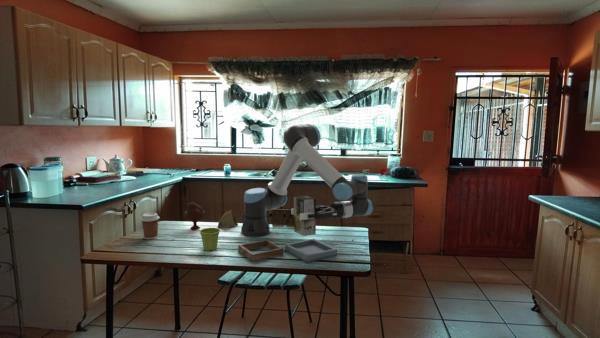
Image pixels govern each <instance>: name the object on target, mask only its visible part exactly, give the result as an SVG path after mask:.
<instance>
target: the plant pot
mask: <svg viewBox="0 0 600 338" xmlns="http://www.w3.org/2000/svg"><path fill="white" fill-rule="evenodd" d="M220 232H221V229H220V228H219V227H207V228H201V229H199V234H200V236H201V241H202V248H203V250H204V251H208V252H209V251H215V250H217V249H218V242H219V235H220Z"/></svg>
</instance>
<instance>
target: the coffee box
mask: <svg viewBox="0 0 600 338" xmlns="http://www.w3.org/2000/svg"><path fill="white" fill-rule="evenodd" d="M316 199H317V198H315V197H312V196H308V195H299V196H293V208H294V215H293V232H294V233H297V234H299V235H301V236H303V237H308V236H313V235H314V236H315V235H316V234H317V233H316V225H317V222H316V220H317V219H315V218H314V219H305V220H300V213H308V212H314V214H315V211H316V206H317V203H316V202H317V200H316Z"/></svg>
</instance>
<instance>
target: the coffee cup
mask: <svg viewBox="0 0 600 338" xmlns="http://www.w3.org/2000/svg"><path fill="white" fill-rule="evenodd" d="M160 219H161V218H160V216H159V215H158V213H156V212H149V213H148V212H147V213H146V212H145V213H143V214H142V216H141V217H140V221H141V223H142V230H143V238H144V239H145V240H154V239H157V238H158V233H159V220H160Z"/></svg>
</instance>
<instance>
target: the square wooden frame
mask: <svg viewBox="0 0 600 338" xmlns="http://www.w3.org/2000/svg"><path fill="white" fill-rule="evenodd" d="M237 246H238V250H237V251H238V253H239V254H241V255H243V256H244V257H246V258H247V259H248V260H250V261H252V262H257V261H263V260H266V259H267V260H268V259H271V258H272V259H273V258H275V257H280V256H281V257H282V256H284V247H282V246H280V245H278V244H276V243H275V242H273V241H271V240H269V239H263V240H258V241H253V242H247V243H242V244H238V245H237ZM261 248H269V249H270V250H266V251H265V250H264V251H260V252H255V253H254V252H252V250H256V249H261Z"/></svg>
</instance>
